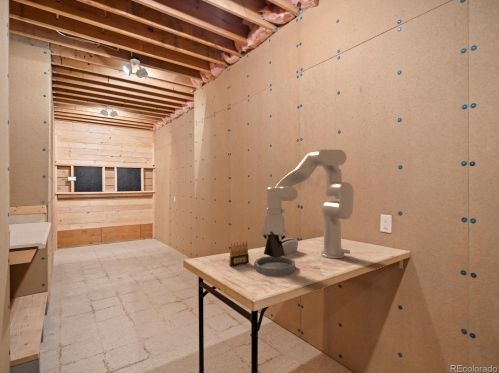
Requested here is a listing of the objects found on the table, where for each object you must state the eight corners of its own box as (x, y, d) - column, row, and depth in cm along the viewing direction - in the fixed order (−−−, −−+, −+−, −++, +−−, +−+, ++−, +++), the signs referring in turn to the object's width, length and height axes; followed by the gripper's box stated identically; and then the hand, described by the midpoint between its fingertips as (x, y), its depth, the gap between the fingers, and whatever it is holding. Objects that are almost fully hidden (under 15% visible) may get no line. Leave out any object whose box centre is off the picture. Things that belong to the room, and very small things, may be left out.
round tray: (296, 262, 135) (295, 257, 135) (293, 276, 115) (293, 270, 115) (258, 260, 139) (258, 255, 139) (250, 273, 120) (250, 267, 120)
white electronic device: (291, 249, 161) (294, 235, 158) (296, 253, 158) (300, 239, 155) (271, 254, 151) (275, 239, 148) (276, 258, 148) (280, 243, 145)
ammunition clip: (230, 266, 130) (230, 243, 130) (229, 265, 132) (228, 242, 131) (249, 263, 135) (248, 240, 135) (247, 262, 137) (247, 240, 137)
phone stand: (284, 255, 125) (284, 231, 125) (276, 258, 121) (275, 233, 121) (272, 251, 132) (272, 228, 132) (263, 254, 129) (263, 230, 128)
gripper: (291, 211, 128) (292, 247, 129) (258, 210, 132) (259, 245, 132) (290, 213, 121) (291, 251, 121) (256, 212, 125) (256, 249, 125)
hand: (274, 247), depth 127 cm, fingers closed on phone stand, 4 cm apart
